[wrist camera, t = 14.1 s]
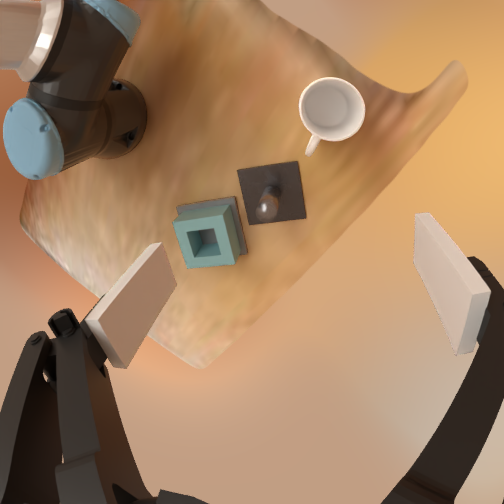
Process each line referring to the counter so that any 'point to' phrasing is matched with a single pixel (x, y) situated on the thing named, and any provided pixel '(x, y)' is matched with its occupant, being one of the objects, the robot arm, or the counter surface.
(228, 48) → the counter surface
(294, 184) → the stand
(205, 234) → the coaster
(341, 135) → the mug
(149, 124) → the counter surface
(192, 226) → the teal square frame
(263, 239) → the counter surface
